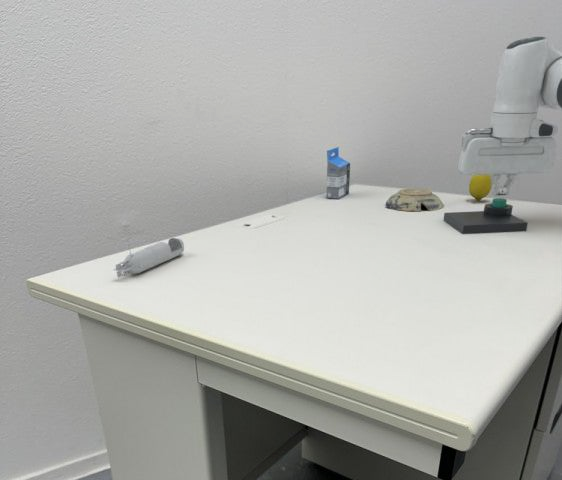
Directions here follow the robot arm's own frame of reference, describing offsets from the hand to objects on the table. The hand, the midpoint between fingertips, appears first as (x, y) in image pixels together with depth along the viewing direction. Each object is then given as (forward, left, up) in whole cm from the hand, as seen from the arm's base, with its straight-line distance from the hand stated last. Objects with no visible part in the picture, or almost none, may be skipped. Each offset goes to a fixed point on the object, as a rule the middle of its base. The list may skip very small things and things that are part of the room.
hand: (500, 194), depth 122 cm
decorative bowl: (+13, -20, -6) cm, 24 cm away
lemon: (-5, -22, -6) cm, 23 cm away
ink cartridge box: (+30, -36, -6) cm, 47 cm away
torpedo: (+75, +21, -6) cm, 79 cm away
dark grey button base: (+4, +3, -6) cm, 8 cm away
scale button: (0, 0, -3) cm, 3 cm away
